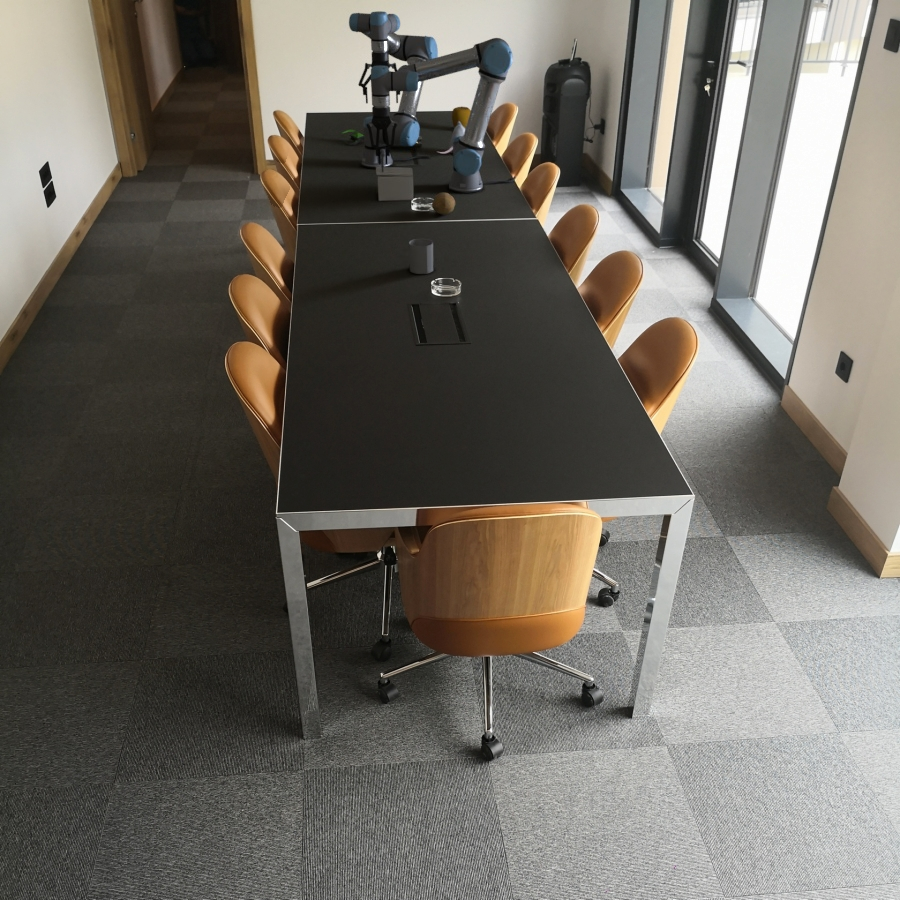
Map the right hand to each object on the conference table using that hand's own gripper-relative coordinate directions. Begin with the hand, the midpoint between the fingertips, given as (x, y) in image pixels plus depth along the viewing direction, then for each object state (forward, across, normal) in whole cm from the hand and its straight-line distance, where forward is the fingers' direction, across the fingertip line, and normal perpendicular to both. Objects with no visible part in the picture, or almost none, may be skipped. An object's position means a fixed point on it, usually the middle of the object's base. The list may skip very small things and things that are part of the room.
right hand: (383, 163), depth 375 cm
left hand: (-19, 0, +31) cm, 36 cm away
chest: (+15, +5, 0) cm, 15 cm away
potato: (+15, +25, -25) cm, 38 cm away
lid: (+4, +5, 0) cm, 6 cm away
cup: (+15, +13, -89) cm, 91 cm away
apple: (+15, +44, +126) cm, 134 cm away
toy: (+15, +35, +71) cm, 81 cm away
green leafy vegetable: (+15, -8, +100) cm, 102 cm away
